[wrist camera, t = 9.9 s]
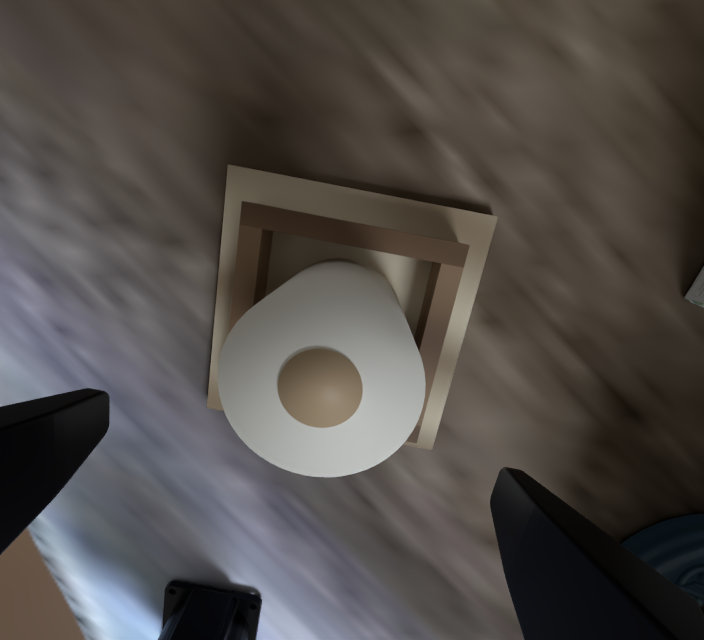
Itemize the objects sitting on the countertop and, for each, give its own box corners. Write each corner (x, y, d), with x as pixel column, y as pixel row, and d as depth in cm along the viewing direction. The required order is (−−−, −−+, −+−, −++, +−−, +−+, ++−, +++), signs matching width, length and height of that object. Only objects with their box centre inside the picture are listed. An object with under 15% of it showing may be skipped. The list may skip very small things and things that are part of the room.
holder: (430, 443, 21) (438, 473, 19) (211, 402, 21) (190, 426, 19) (493, 216, 18) (514, 216, 15) (232, 166, 18) (210, 156, 15)
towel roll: (387, 387, 20) (399, 495, 12) (271, 364, 20) (207, 459, 12) (414, 271, 18) (449, 309, 10) (287, 246, 18) (226, 266, 10)
